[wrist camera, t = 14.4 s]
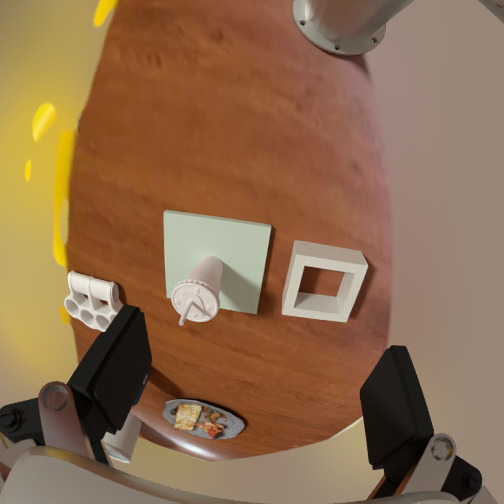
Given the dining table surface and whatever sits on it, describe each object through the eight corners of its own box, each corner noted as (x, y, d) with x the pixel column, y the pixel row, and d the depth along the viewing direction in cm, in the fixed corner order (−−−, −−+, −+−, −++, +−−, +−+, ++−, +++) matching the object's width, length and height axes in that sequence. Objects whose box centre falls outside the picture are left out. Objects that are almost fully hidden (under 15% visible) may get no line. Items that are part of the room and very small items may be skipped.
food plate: (226, 440, 76) (225, 449, 73) (160, 418, 74) (157, 426, 71) (255, 411, 65) (253, 422, 62) (172, 383, 63) (168, 393, 60)
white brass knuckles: (131, 283, 48) (139, 336, 55) (64, 264, 49) (77, 315, 56) (123, 293, 45) (134, 346, 52) (55, 272, 46) (70, 324, 53)
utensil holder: (130, 409, 75) (113, 449, 59) (150, 429, 81) (137, 466, 66) (101, 402, 78) (83, 439, 62) (121, 423, 84) (107, 457, 68)
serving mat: (166, 209, 40) (163, 212, 39) (271, 224, 40) (271, 227, 39) (168, 294, 48) (167, 297, 47) (257, 310, 47) (256, 314, 46)
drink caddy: (294, 239, 40) (295, 254, 36) (360, 251, 40) (368, 265, 36) (282, 296, 45) (281, 314, 41) (342, 305, 45) (346, 322, 41)
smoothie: (214, 240, 41) (184, 296, 28) (239, 271, 43) (222, 335, 30) (183, 260, 43) (148, 316, 30) (208, 289, 45) (184, 351, 33)
